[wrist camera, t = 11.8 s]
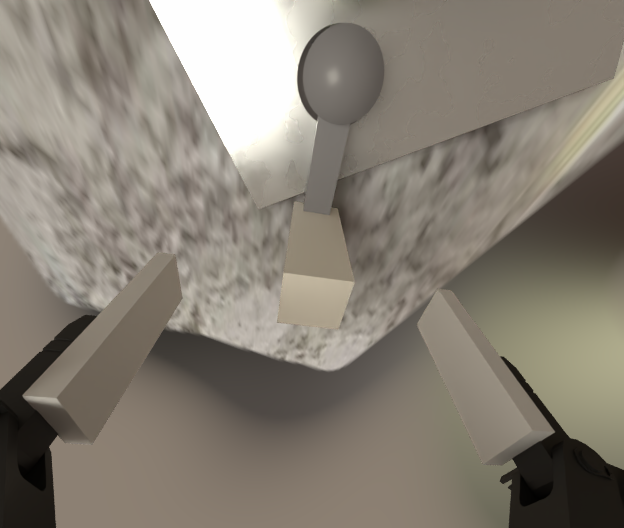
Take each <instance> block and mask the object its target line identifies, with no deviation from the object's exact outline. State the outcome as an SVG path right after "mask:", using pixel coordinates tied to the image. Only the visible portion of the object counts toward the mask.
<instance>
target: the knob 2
mask: <svg viewBox="0 0 624 528" xmlns="http://www.w3.org/2000/svg"><path fill="white" fill-rule="evenodd" d="M383 81H384V59H383V55H382V52H381V49H380V46H379V44H378V42H377V41H376V39H375V38H374V36H373V35H372V34H371V33H370V32H369V31H367V30H366V29H365V28H363V27H361V26H359V25H356V24H353V23H341V24H336V25H334V26H331V27H330V28H328V29H326V30H325V31H324V32H322V33H321V34H320V35H319V36H318V37H317V38H316V40H315V41H314V43H313V44H312V46H311V47H310V49H309V51H308V54H307V56H306V60H305V63H304V69H303V85H304V91H305V95H306V98H307V100H308V102H309V104H310V106H311V108H312V109H313V111H314V112H315V113H316V114H317V115H318V118H317V124H316V130H315V137H314V143H313V149H312V156H311V162H310V168H309V175H308V181H307V187H306V193H305V200H304V203H302V202H296V201H294V206H293V213H292V220H291V227H290V233H289V240H288V247H287V254H286V260H285V267H284V274H283V281H282V289H281V297H280V304H279V312H278V319H277V323H286V324H294V325H303V326H312V327H321V328H330V329H339V326H340V324H341V321H342V318H343V315H344V312H345V309H346V306H347V303H348V300H349V297H350V294H351V292H352V289H353V286H354V283H355V281H354V277H353V273H352V268H351V264H350V260H349V255H348V251H347V247H346V242H345V238H344V234H343V229H342V225H341V221H340V217H339V212H338V208H333V207H331V206H332V202H333V198H334V193H335V189H336V184H337V180H338V175H339V171H340V167H341V162H342V158H343V153H344V149H345V144H346V140H347V136H348V131H349V127H350V123H353V122H355V121H357V120H359V119H360V118H362V117H363V116H364V115H366V114H367V113H368V112H369V111H370V110H371V108H372V107H373V106H374V104H375V103H376V101H377V99H378V97H379V95H380V92H381V89H382V86H383Z"/></svg>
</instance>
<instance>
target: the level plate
mask: <svg viewBox="0 0 624 528" xmlns="http://www.w3.org/2000/svg"><path fill="white" fill-rule="evenodd" d="M149 1H150V2H151V4H152V6H153V8H154V10H155V12H156V14H157V16H158V18H159V20H160V22H161V24H162V25H163V27H164V29H165V31H166V33H167V35H168V37H169V39H170V41H171V43H172V45H173V47H174V48H175V50H176V52H177V54H178V56H179V58H180V60H181V62H182V64H183V66H184V68H185V70H186V72H187V73H188V75H189V77H190V79H191V81H192V83H193V85H194V87H195V89H196V91H197V93H198V95H199V96H200V98H201V100H202V102H203V104H204V106H205V108H206V110H207V112H208V114H209V116H210V118H211V119H212V121H213V123H214V125H215V127H216V129H217V131H218V133H219V135H220V137H221V139H222V141H223V142H224V144H225V146H226V148H227V150H228V152H229V154H230V156H231V158H232V160H233V162H234V164H235V165H236V167H237V169H238V171H239V173H240V175H241V177H242V179H243V181H244V183H245V185H246V187H247V189H248V190H249V192H250V194H251V196H252V198H253V200H254V202H255V204H256V206H257V208H258V209H261V208H263V207H266V206H269V205H271V204H274V203H277V202H280V201H282V200H285V199H288V198H290V197H293V196H296V195H299V194H301V193H304V192H306V187H307V181H308V175H309V168H310V162H311V156H312V149H313V143H314V137H315V130H316V124H317V118H318V115H317V114H316V113H315V112H314V111H313V109H312V108H311V106H310V104H309V102H308V100H307V98H306V95H305V91H304V85H303V69H304V63H305V60H306V56H307V54H308V51H309V49H310V47H311V46H312V44H313V43H314V41H315V40H316V38H317V37H318V36H319V35H320V34H321V33H322V32H324V31H325V30H326V29H328V28H330V27H331V26H334V25H336V24H341V23H353V24H356V25H359V26H361V27H363V28H365V29H366V30H367V31H369V32H370V33H371V34H372V35H373V36H374V38H375V39H376V41H377V42H378V44H379V46H380V49H381V52H382V55H383V59H384V81H383V86H382V89H381V92H380V95H379V97H378V99H377V101H376V103H375V104H374V106H373V107H372V108H371V110H370V111H369V112H368V113H367V114H366V115H364V116H363V117H362V118H360V119H359V120H357V121H355V122H353V123H350V127H349V131H348V136H347V140H346V144H345V149H344V153H343V158H342V162H341V167H340V171H339V175H338V180H339V179H342V178H345V177H347V176H350V175H353V174H355V173H358V172H361V171H364V170H366V169H369V168H372V167H374V166H377V165H380V164H383V163H385V162H388V161H391V160H393V159H396V158H399V157H402V156H404V155H407V154H410V153H412V152H415V151H418V150H421V149H423V148H426V147H429V146H431V145H434V144H437V143H440V142H442V141H445V140H448V139H450V138H453V137H456V136H458V135H461V134H464V133H467V132H469V131H472V130H475V129H477V128H480V127H483V126H486V125H488V124H491V123H494V122H496V121H499V120H502V119H505V118H507V117H510V116H513V115H515V114H518V113H521V112H524V111H526V110H529V109H532V108H534V107H537V106H540V105H542V104H545V103H548V102H551V101H553V100H556V99H559V98H561V97H564V96H567V95H570V94H572V93H575V92H578V91H580V90H583V89H586V88H589V87H591V86H594V85H597V84H599V83H602V82H605V81H608V80H610V79H613V78H614V76H615V72H616V68H617V64H618V60H619V56H620V52H621V49H622V45H623V41H624V0H149Z"/></svg>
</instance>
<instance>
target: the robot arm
mask: <svg viewBox="0 0 624 528" xmlns="http://www.w3.org/2000/svg"><path fill="white" fill-rule="evenodd" d="M181 300H182V292H181V286H180V280H179V274H178V268H177V262H176V255H175V254H167V253H159V252H158V253H157V254H156V255H155V256H154V257H153V258H152V259H151V260H150V261H149V262H148V263H147V265H146V266H145V267H144V268H143V269H142V270H141V271H140V272H139V273H138V274H137V275H136V276H135V277H134V278H133V279H132V280H131V281H130V282H129V283H128V285H127V286H126V287H125V288H124V289H123V290H122V291H121V292H120V293H119V294H118V295H117V296H116V297H115V298H114V299H113V300H112V301H111V302H110V303H109V305H108V306H107V307H106V308H105V309H104V310H103V311H102V312H101V313H100V314H99V315H98V316H92V315H84V316H82V317H81V318H79V319H77V320H76V321H74V322H72V323H70V324H69V325H67V326H66V327H65V328H64V329H63V330H62V331H61V332H60V333H59V334H58V335H57V336H56V337H55V338H54V340H53V341H51V342H50V343H49V344H48V345H46V347H44V348H43V351H42V352H39V353H38V354H37V355H36V356H35V357H34V358H33V359H32V360H31V361H30V362H29V363H28V364H27V365H26V366H25V367H23V369H21V371H19V372H18V373H17V374H16V375H15V376H14V377H13V378H12V379H11V380H10V381H9V382H8V383H7V384H6V385H5V386H4V387H3V388H2V389H1V390H0V528H56V523H55V522H56V521H55V505H54V489H53V474H52V473H53V472H52V456H51V451H50V448H49V446H50V445H51V443H52V442H53V441H54V439H55V438H56V437H57V435H58V436H59V437H60V438H61V439H62V440H63V441H64V442H65V443H71V444H91V445H92V444H93V443H94V441H95V439H96V438H97V436H98V435H99V433H100V431H101V430H102V428H103V426H104V425H105V423H106V422H107V420H108V418H109V417H110V415H111V413H112V412H113V410H114V408H115V407H116V405H117V404H118V402H119V401H120V399H121V397H122V396H123V394H124V392H125V391H126V389H127V387H128V386H129V384H130V383H131V381H132V379H133V378H134V376H135V374H136V373H137V371H138V370H139V368H140V366H141V365H142V363H143V362H144V360H145V358H146V357H147V355H148V353H149V352H150V350H151V348H152V347H153V345H154V344H155V342H156V340H157V339H158V337H159V335H160V334H161V332H162V331H163V329H164V327H165V326H166V324H167V323H168V321H169V319H170V318H171V316H172V314H173V313H174V311H175V310H176V308H177V306H178V305H179V303H180V301H181ZM417 326H418V328H419V331H420V333H421V335H422V337H423V339H424V341H425V343H426V345H427V348H428V350H429V352H430V354H431V356H432V358H433V360H434V362H435V364H436V366H437V369H438V371H439V373H440V375H441V377H442V379H443V381H444V383H445V386H446V388H447V390H448V392H449V394H450V396H451V398H452V400H453V402H454V405H455V407H456V409H457V411H458V413H459V415H460V417H461V420H462V422H463V424H464V426H465V428H466V430H467V432H468V434H469V437H470V439H471V441H472V443H473V445H474V447H475V449H476V451H477V453H478V455H479V458H480V460H481V462H482V464H484V465H503V464H505V463H507V462H508V461H510V460H511V459H513V460H514V462H515V464H516V466H517V468H515V469H514V470H512V471H510V472H509V473H507V474H505V475H503V476H502V477H501V479H500V482H501V483H502V484H504V483H506V482H508V481H509V480H511V479H512V484H511V485H510V486H509V487H508V488H509V489H510V490H511V502H510V516H509V528H624V470H622V469H620V468H617V467H615V466H613V465H610V464H608V463H606V462H605V461H604V460H603V459H602V458H601V457H600V456H599V455H598V454H597V453H596V452H595V451H594V450H593V449H591V448H590V447H589V446H587V445H586V444H584V443H582V442H580V441H578V440H576V439H571V438H569V436H568V435H567V434H566V433H565V432H564V431H563V429H562V428H561V426H560V425H559V424H558V422H557V421H556V420H555V418H554V417H553V416H552V414H551V413H550V412H549V411H548V409H547V408H546V407H545V406H544V404H543V403H542V401H541V400H540V399H539V398H538V396H537V395H536V394H535V393H533V389H532V388H531V387H530V386H529V384H528V383H526V382H525V379H524V378H523V376H522V375H521V374H520V373H519V371H518V370H517V368H516V367H514V366H513V365H512V364H511V363H510V362H509V361H508V360H507V359H506V358H504V357H501V356H499V355H498V353H497V352H496V351H495V349H494V348H493V347H492V345H491V344H490V342H489V341H488V340H487V338H486V337H485V336H484V334H483V333H482V331H481V330H480V329H479V328H478V326H477V325H476V323H475V322H474V321H473V319H472V318H471V316H470V315H469V314H468V312H467V311H466V310H465V308H464V307H463V306H462V304H461V303H460V302H459V300H458V299H457V297H456V296H455V295H454V294H453V292H452V291H451V290H444V289H437V291H436V293H435V294H434V296H433V298H432V299H431V301H430V303H429V305H428V306H427V308H426V310H425V311H424V313H423V315H422V316H421V318H420V320H419V322H418V323H417Z"/></svg>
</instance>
